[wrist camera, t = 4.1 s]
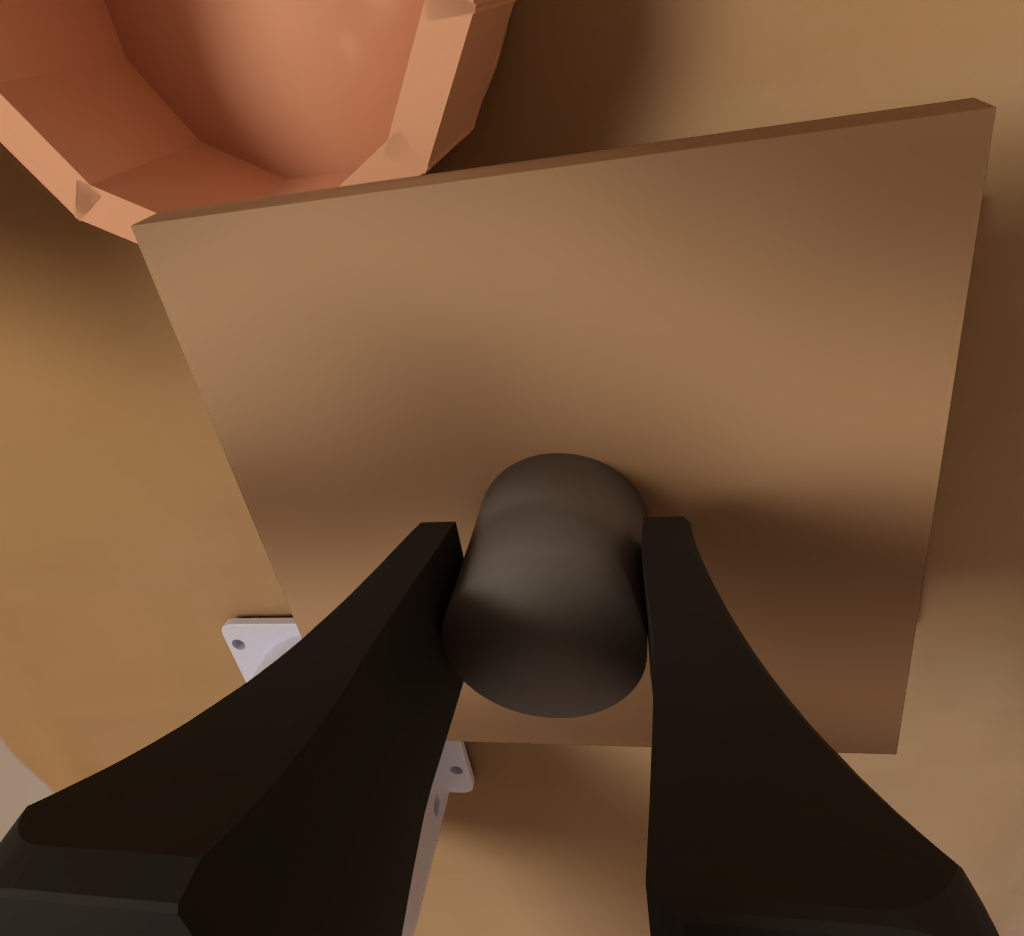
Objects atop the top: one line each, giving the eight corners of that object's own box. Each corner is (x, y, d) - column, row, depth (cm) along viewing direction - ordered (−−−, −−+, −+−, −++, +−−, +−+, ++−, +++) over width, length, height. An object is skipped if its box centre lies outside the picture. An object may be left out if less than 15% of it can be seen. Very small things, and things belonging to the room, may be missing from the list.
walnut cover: (886, 721, 16) (941, 904, 13) (354, 710, 19) (293, 860, 16) (973, 97, 10) (1119, 159, 7) (158, 212, 13) (-10, 294, 9)
